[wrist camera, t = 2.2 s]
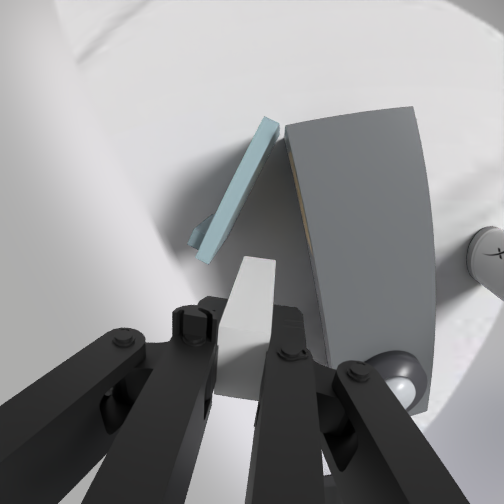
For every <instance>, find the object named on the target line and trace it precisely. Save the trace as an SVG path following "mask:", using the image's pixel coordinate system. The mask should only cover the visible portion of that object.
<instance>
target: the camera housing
mask: <svg viewBox="0 0 504 504" xmlns="http://www.w3.org/2000/svg"><path fill="white" fill-rule="evenodd" d="M284 140H285V144H286V148H287V152H288V157H289V161H290V165H291V169H292V174H293V178H294V183H295V187H296V192H297V196H298V201H299V206H300V210H301V215H302V220H303V225H304V230H305V235H306V240H307V245H308V250H309V255H310V260H311V265H312V271H313V276H314V282H315V287H316V293H317V299H318V304H319V310H320V316H321V322H322V329H323V335H324V341H325V348H326V354H327V361H328V367H329V368H332V369H336V370H337V367H338V365H339V364H341V363H342V362H344V361H349V360H355V361H361V362H365V363H367V364H369V365H371V366H373V367H374V368H375V369H376V370H377V371H378V372H379V374H380V375H381V377H382V378H383V379H384V381H385V382H386V383H387V385H388V386H389V388H390V389H391V390H392V392H393V393H394V394H395V396H396V397H397V399H398V400H399V401H400V403H401V404H402V406H403V407H404V408H405V410H406V411H407V413H408V414H409V415H410V416H412V415H416V414H419V413H422V412H425V411H427V408H428V401H429V394H430V386H431V377H432V367H433V356H434V341H435V319H436V271H435V249H434V234H433V222H432V212H431V203H430V195H429V187H428V180H427V174H426V167H425V161H424V156H423V150H422V145H421V140H420V135H419V130H418V126H417V121H416V117H415V113H414V108H413V106H410V107H400V108H391V109H382V110H374V111H366V112H359V113H352V114H345V115H339V116H333V117H327V118H321V119H316V120H310V121H305V122H300V123H295V124H290V125H286V126H285V134H284Z"/></svg>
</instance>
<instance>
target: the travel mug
mask: <svg viewBox="0 0 504 504" xmlns="http://www.w3.org/2000/svg"><path fill="white" fill-rule="evenodd" d="M467 267H468V271H469V273H470V275H471V276H472V277H473V278H474V279H475V280H476V281H478V282H479V283H480V284H482V285H483V286H484V287H486V288H487V289H488V290H490V291H491V292H492V293H494V294H495V295H496V296H497V297H499V298H500V299H501V300H503V301H504V230H502V229H499V228H497V227H493V226H490V227H486V228H484V229H482V230H480V231H479V232H478V233H477V234H476V235H475V237H474V238H473V240H472V241H471V243H470V246H469V248H468V253H467Z"/></svg>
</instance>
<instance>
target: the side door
mask: <svg viewBox="0 0 504 504" xmlns="http://www.w3.org/2000/svg"><path fill="white" fill-rule="evenodd" d="M279 135H280V127H279V123H277V122H275V121H273V120H271V119H269V118H267V117H265V116H264V118H263V120H262V122H261V124H260V125H259V127H258V129H257V131H256V133H255V135H254V137H253V139H252V141H251V143H250V145H249V147H248V149H247V151H246V153H245V155H244V157H243V159H242V161H241V163H240V165H239V167H238V169H237V171H236V173H235V175H234V177H233V179H232V181H231V183H230V185H229V187H228V189H227V191H226V193H225V195H224V197H223V199H222V201H221V203H220V206H219V208H218V210H217V212H216V214H215V215H213V214H212V215H211V216H209V217H208V218H207V219H206V220H204V221H203V222H202V223H201V224H199V225H198V226H197V227H196V228H194V230H193V232H192V234H191V237H190V239H189V241H188V243H187V244H188V245H190V246H192V247H193V248H195V249H197V250H198V252H197V255H196V257H195V258H197V259H199V260H201V261H203V262H205V263H206V264H208V265H209V263H210V262H211V260H212V259H213V257H214V256H215V255H216V253H217V252H218V250H219V249H220V247H221V246H222V244H223V243H224V241H225V240H226V238H227V237H228V235H229V233H230V231H231V229H232V227H233V225H234V223H235V221H236V219H237V217H238V215H239V213H240V211H241V209H242V207H243V205H244V203H245V201H246V199H247V197H248V195H249V193H250V191H251V189H252V187H253V185H254V183H255V181H256V179H257V177H258V176H259V174H260V172H261V170H262V168H263V166H264V164H265V162H266V160H267V158H268V156H269V154H270V152H271V150H272V148H273V146H274V144H275V143H276V141H277V139H278V137H279Z"/></svg>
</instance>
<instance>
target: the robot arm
mask: <svg viewBox="0 0 504 504" xmlns="http://www.w3.org/2000/svg"><path fill="white" fill-rule="evenodd" d="M275 266H276V260H271V259H264V258H256V257H249V256H244V258H243V261H242V264H241V266H240V269H239V272H238V275H237V277H236V280H235V283H234V286H233V288H232V291H231V294H230V297H229V299H224V298H218V297H211V296H207V297H205V298H204V299H202V300H200V301H199V303H198V305H188V306H182V307H179V308H176V309H175V310H174V311H173V312H172V320H173V321H172V327H173V328H172V338H171V340H170V341H168V342H163V343H146V342H145V337H144V335H143V334H142V333H141V332H139V331H138V330H135V329H131V328H118V329H113V330H111V331H109V332H107V333H106V334H104V335H103V336H101V337H100V338H98V339H97V340H95V341H94V342H93V343H91V344H89V345H88V346H86V347H85V348H83V349H82V350H81V351H79V352H78V353H76V354H75V355H73V356H72V357H70V358H69V359H67V360H66V361H64V362H63V363H62V364H60V365H59V366H57V367H56V368H54V369H53V370H51V371H50V372H49V373H47V374H46V375H44V376H43V377H41V378H40V379H38V380H37V381H35V382H34V383H33V384H31V385H30V386H28V387H27V388H25V389H24V390H23V391H21V392H20V393H18V394H17V395H15V396H14V397H12V398H11V399H10V400H8V401H7V402H5V403H4V404H3V405H1V406H0V504H58V503H59V502H60V501H61V500H62V499H63V498H64V497H65V496H66V495H67V494H68V493H69V492H70V491H71V490H72V489H73V488H74V487H75V486H76V485H77V484H78V483H79V482H80V480H81V479H83V477H85V476H86V475H87V474H88V472H89V471H90V470H91V469H92V468H93V467H94V466H95V465H96V464H97V463H98V462H99V461H100V460H101V459H102V458H103V457H104V456H105V455H106V454H107V455H106V457H105V459H104V461H103V462H102V465H101V467H100V468H99V470H98V472H97V474H96V476H95V478H94V480H93V481H92V483H91V485H90V487H89V489H88V491H87V493H86V495H85V497H84V499H83V501H82V503H81V504H184V502H185V499H186V495H187V492H188V488H189V485H190V481H191V477H192V473H193V470H194V467H195V463H196V459H197V456H198V452H199V449H200V445H201V442H202V438H203V434H204V431H205V427H206V423H207V420H208V416H209V413H210V409H211V406H212V393H213V390H214V394H216V395H222V396H228V397H234V398H242V399H248V400H255V401H259V402H258V407H257V413H256V418H255V423H254V427H255V430H254V438H253V446H252V453H251V461H250V469H249V476H248V484H247V491H246V498H245V504H470V503H469V502H468V500H467V499H466V497H465V496H464V494H463V493H462V491H461V489H460V488H459V486H458V485H457V483H456V482H455V481H454V479H453V478H452V476H451V475H450V473H449V472H448V470H447V469H446V467H445V466H444V464H443V463H442V462H441V460H440V458H439V457H438V456H437V454H436V453H435V451H434V450H433V448H432V447H431V445H430V444H429V443H428V441H427V440H426V438H425V437H424V435H423V434H422V432H421V431H420V430H419V428H418V427H417V425H416V424H415V423H414V421H413V420H412V418H411V417H410V415H409V414H408V413H407V411H406V410H405V408H404V407H403V406H402V404H401V403H400V401H399V400H398V399H397V397H396V396H395V394H394V393H393V392H392V390H391V389H390V388H389V386H388V385H387V383H386V382H385V381H384V379H383V378H382V377H381V375H380V374H379V372H378V371H377V370H376V369H375V368H374V367H373V366H371V365H369V364H367V363H365V362H361V361H355V360H349V361H344V362H342V363H341V364H339V365H338V367H337V370H336V369H332V368H329V367H325V366H323V365H320V364H318V363H317V362H315V361H314V360H313V359H312V355H311V352H310V351H309V350H308V349H307V348H306V340H305V331H304V323H303V314H302V313H301V312H300V311H299V310H298V308H296V307H288V306H281V305H273V298H274V282H275ZM321 449H322V451H321ZM322 452H323V454H324V457H325V459H326V462H327V464H328V467H329V469H330V472H331V474H332V475H330V476H324V477H323V464H322Z"/></svg>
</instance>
